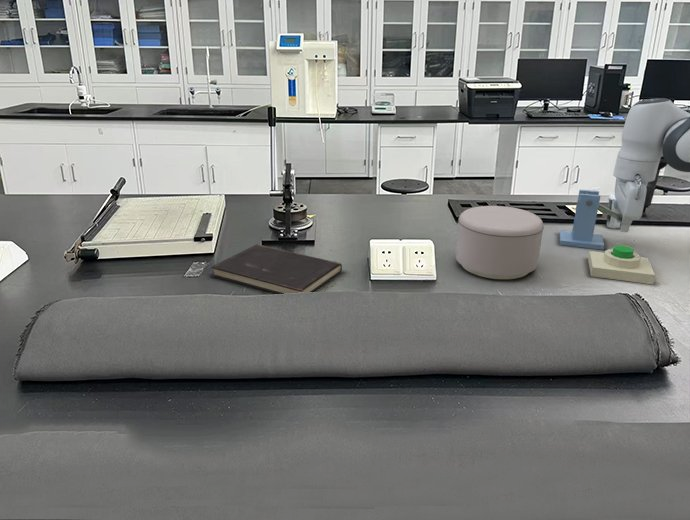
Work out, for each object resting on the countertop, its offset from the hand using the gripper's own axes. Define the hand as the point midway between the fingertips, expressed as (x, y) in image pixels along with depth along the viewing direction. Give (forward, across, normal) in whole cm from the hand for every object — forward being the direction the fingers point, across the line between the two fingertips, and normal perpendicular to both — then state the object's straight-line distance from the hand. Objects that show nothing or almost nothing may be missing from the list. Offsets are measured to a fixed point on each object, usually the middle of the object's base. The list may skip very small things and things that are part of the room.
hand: (621, 226), depth 129 cm
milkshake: (+5, +16, -1) cm, 17 cm away
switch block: (+5, -17, +1) cm, 18 cm away
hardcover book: (+7, -44, +71) cm, 84 cm away
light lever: (-3, 0, +5) cm, 6 cm away
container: (+6, -23, +27) cm, 36 cm away
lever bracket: (+5, 0, +8) cm, 10 cm away
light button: (+1, -17, +1) cm, 17 cm away
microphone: (+5, +29, -10) cm, 31 cm away
